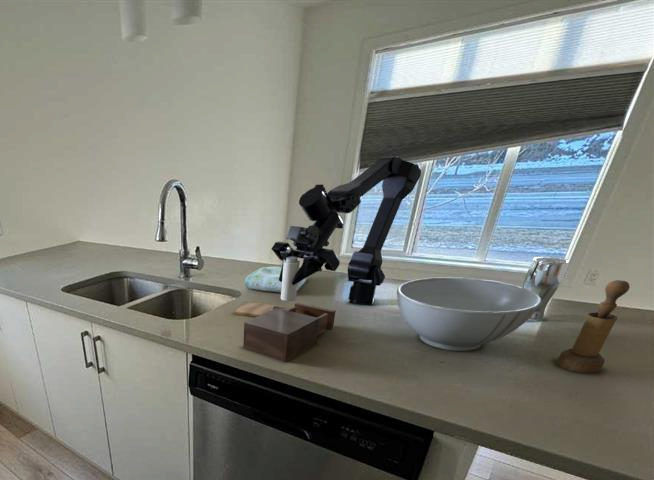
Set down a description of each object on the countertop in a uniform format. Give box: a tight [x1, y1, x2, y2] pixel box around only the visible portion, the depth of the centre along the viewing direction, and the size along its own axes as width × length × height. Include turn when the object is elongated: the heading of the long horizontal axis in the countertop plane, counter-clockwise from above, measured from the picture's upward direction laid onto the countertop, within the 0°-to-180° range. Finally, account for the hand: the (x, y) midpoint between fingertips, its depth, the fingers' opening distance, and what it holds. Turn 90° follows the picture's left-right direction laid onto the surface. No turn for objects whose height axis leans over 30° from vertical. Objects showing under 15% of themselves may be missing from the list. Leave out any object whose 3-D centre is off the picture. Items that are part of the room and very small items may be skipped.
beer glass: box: [522, 256, 570, 322], centre depth 103 cm, size 7×7×15 cm
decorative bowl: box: [396, 276, 542, 352], centre depth 96 cm, size 27×27×12 cm
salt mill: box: [280, 257, 301, 302], centre depth 107 cm, size 4×4×11 cm
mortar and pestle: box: [556, 279, 631, 374], centre depth 80 cm, size 7×6×18 cm
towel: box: [244, 265, 308, 294], centre depth 148 cm, size 18×21×5 cm
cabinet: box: [242, 307, 319, 362], centre depth 103 cm, size 14×13×7 cm
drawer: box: [286, 302, 336, 336], centre depth 108 cm, size 14×11×5 cm
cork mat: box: [233, 301, 276, 317], centre depth 128 cm, size 10×10×1 cm
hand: (285, 282), depth 107 cm, fingers closed on salt mill, 4 cm apart
